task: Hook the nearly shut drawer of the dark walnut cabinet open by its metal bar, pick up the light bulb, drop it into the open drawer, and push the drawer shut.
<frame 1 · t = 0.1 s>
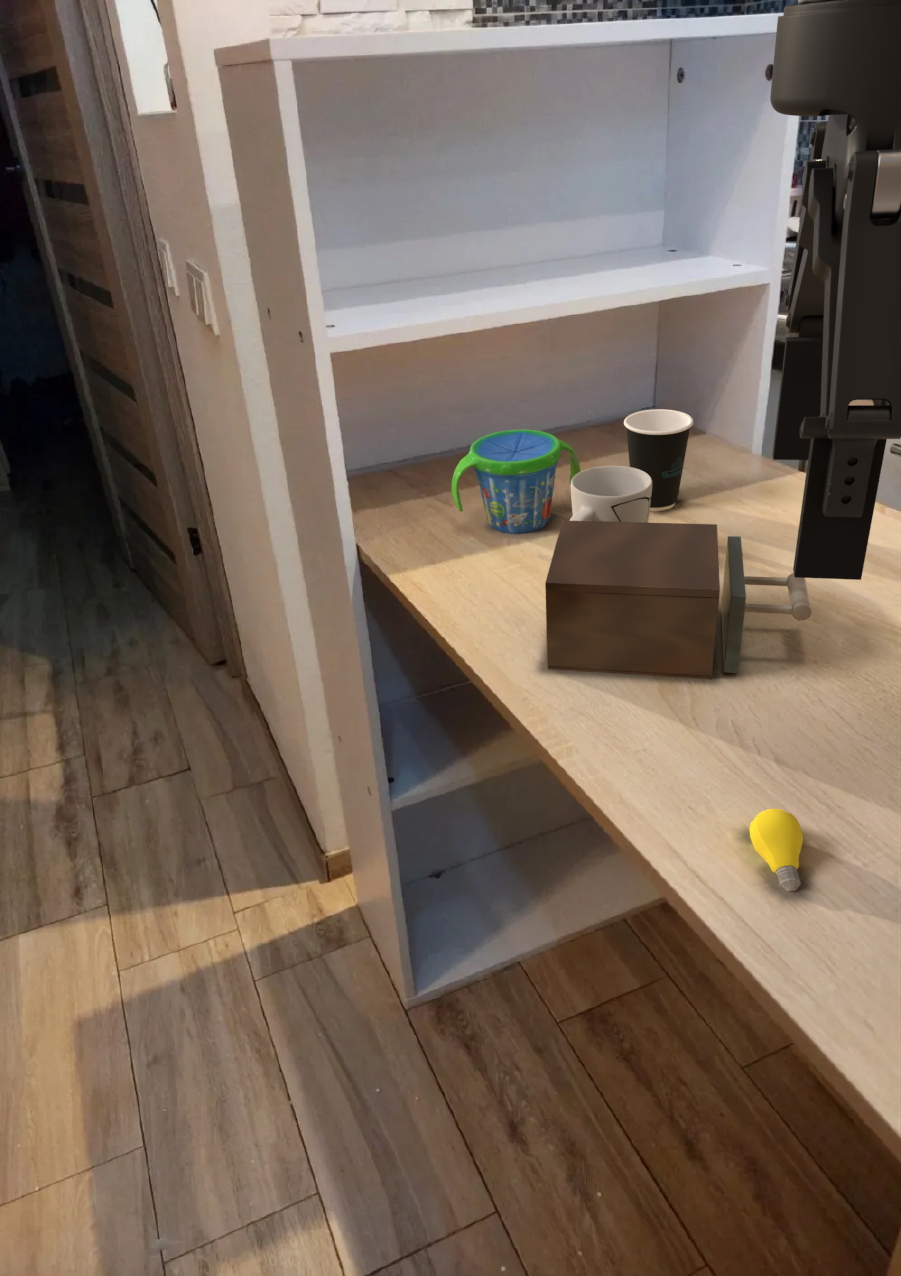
hand: (810, 509, 46), 28 cm above the table, tool pointing down, fingers open, 13 cm apart
dixie cup: (654, 508, 114), on the table
mug: (601, 572, 101), on the table
snack cup: (518, 525, 113), on the table
cabinet: (631, 641, 89), on the table
light bulb: (777, 866, 64), on the table
drawer: (695, 600, 85), point 5 cm above the table, slide at 1.0 cm
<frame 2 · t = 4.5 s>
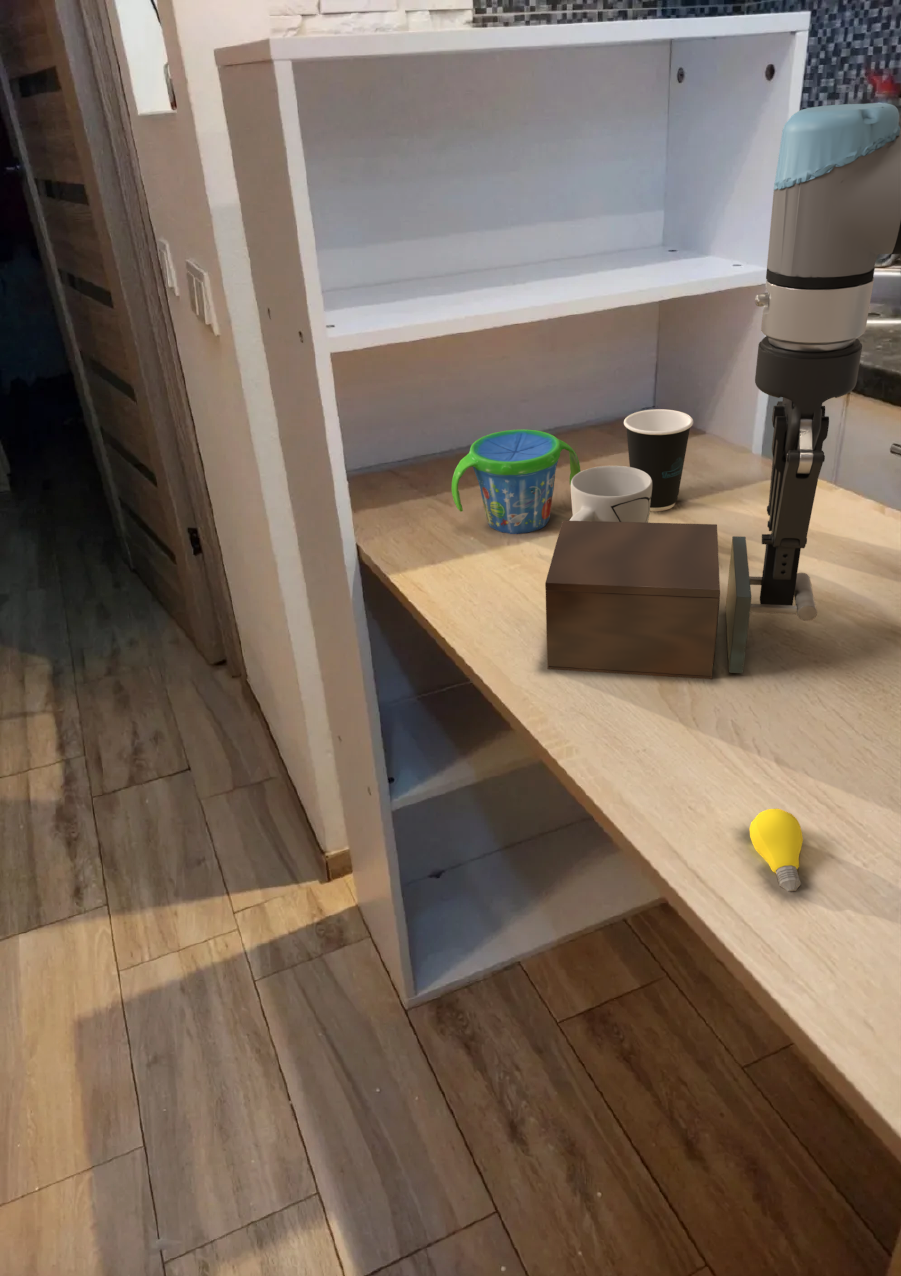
hand: (775, 603, 83), 5 cm above the table, tool pointing down, fingers closed
drawer: (700, 601, 85), point 5 cm above the table, slide at 1.4 cm
everything else where it was.
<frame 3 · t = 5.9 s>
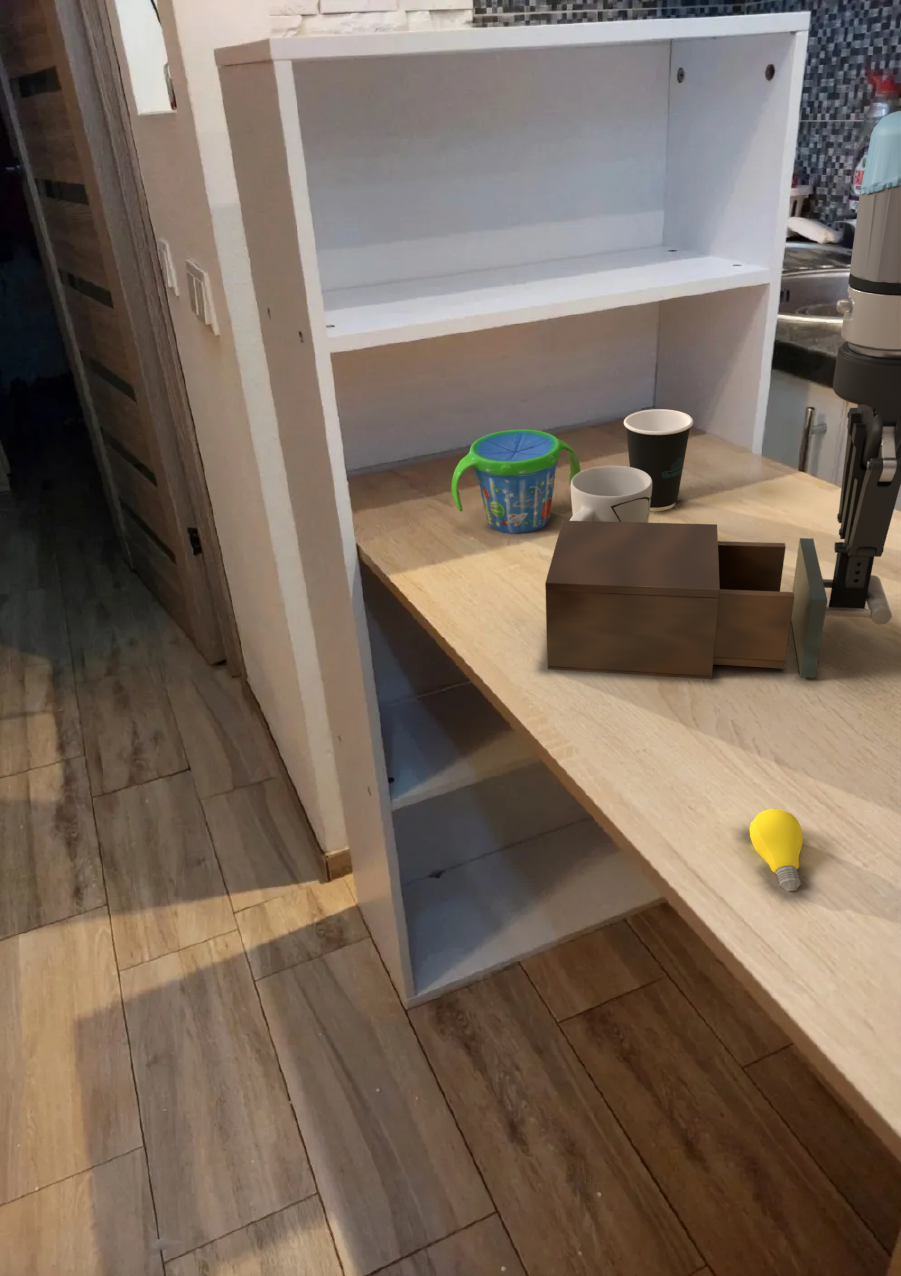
hand: (845, 611, 82), 4 cm above the table, tool pointing down, fingers closed
drawer: (768, 604, 84), point 5 cm above the table, slide at 7.4 cm
everything else where it was.
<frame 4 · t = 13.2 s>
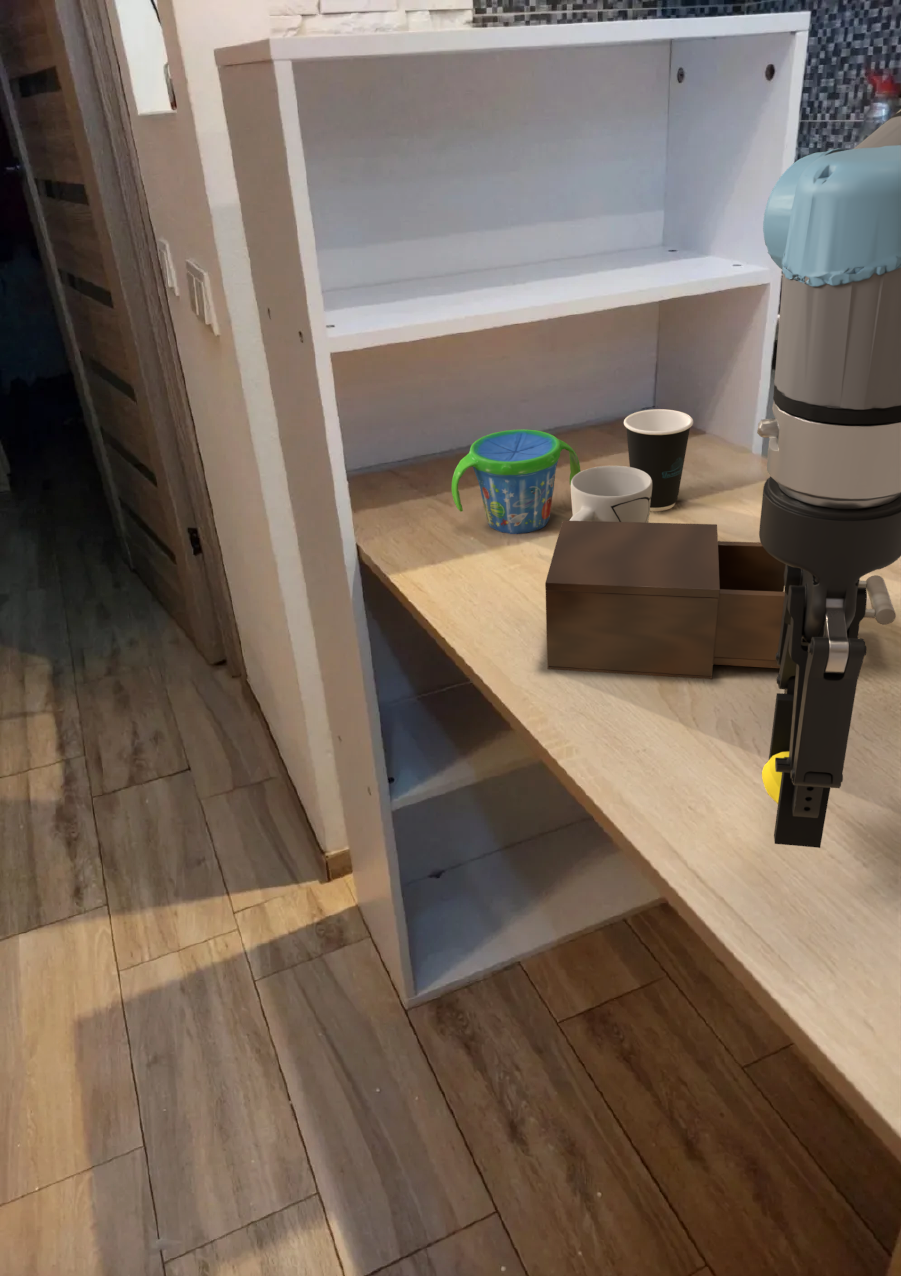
hand: (792, 805, 61), 5 cm above the table, tool pointing down, fingers closed on light bulb, 6 cm apart
light bulb: (792, 811, 61), point 5 cm above the table, touching gripper
drawer: (772, 604, 84), point 5 cm above the table, slide at 7.7 cm
everything else where it was.
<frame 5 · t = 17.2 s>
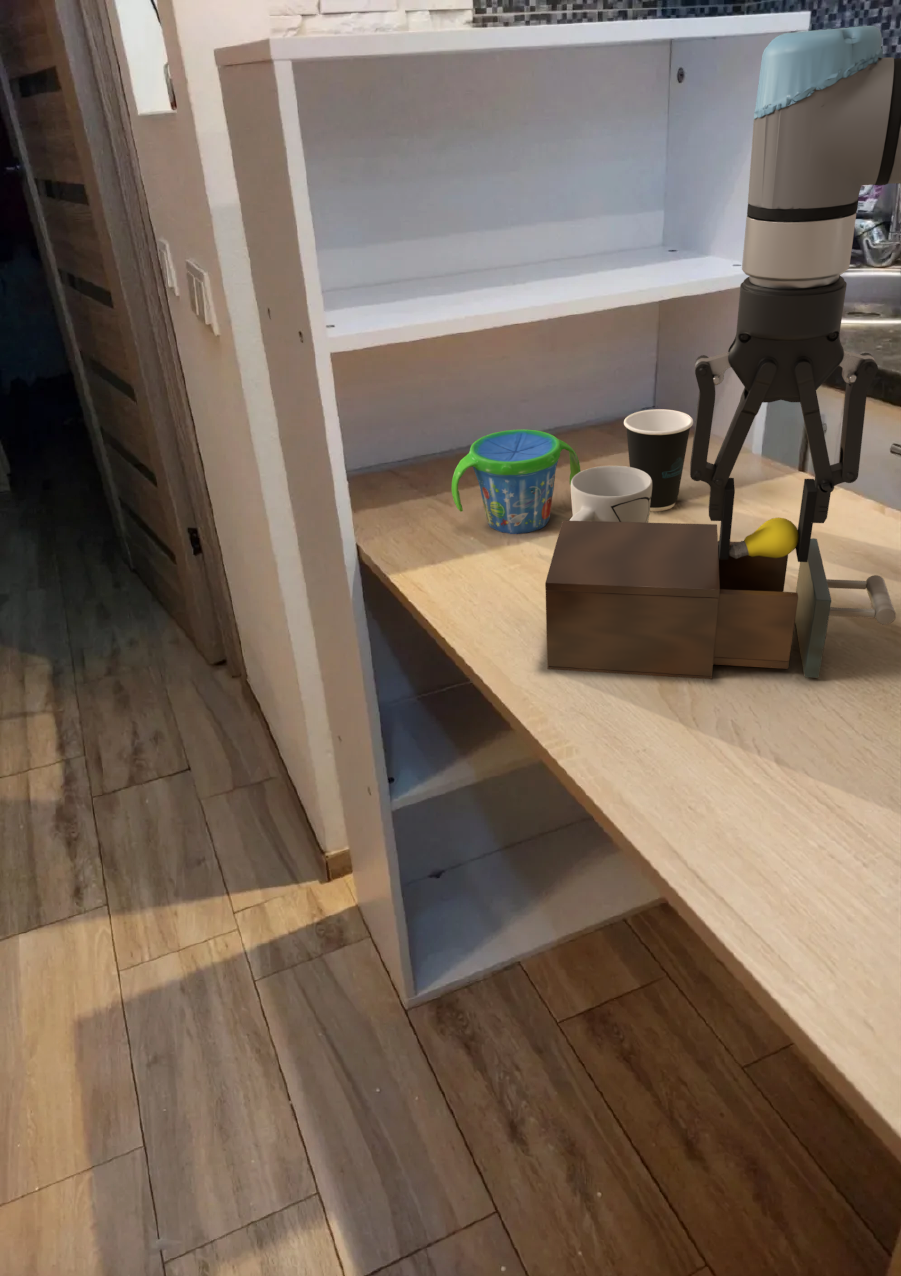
hand: (762, 553, 81), 10 cm above the table, tool pointing down, fingers closed on light bulb, 6 cm apart
light bulb: (761, 558, 81), point 9 cm above the table, touching gripper
everything else where it was.
when the fingers open (10 cm above the table, at t = 20.9 s): light bulb drops 7 cm, resting on drawer.
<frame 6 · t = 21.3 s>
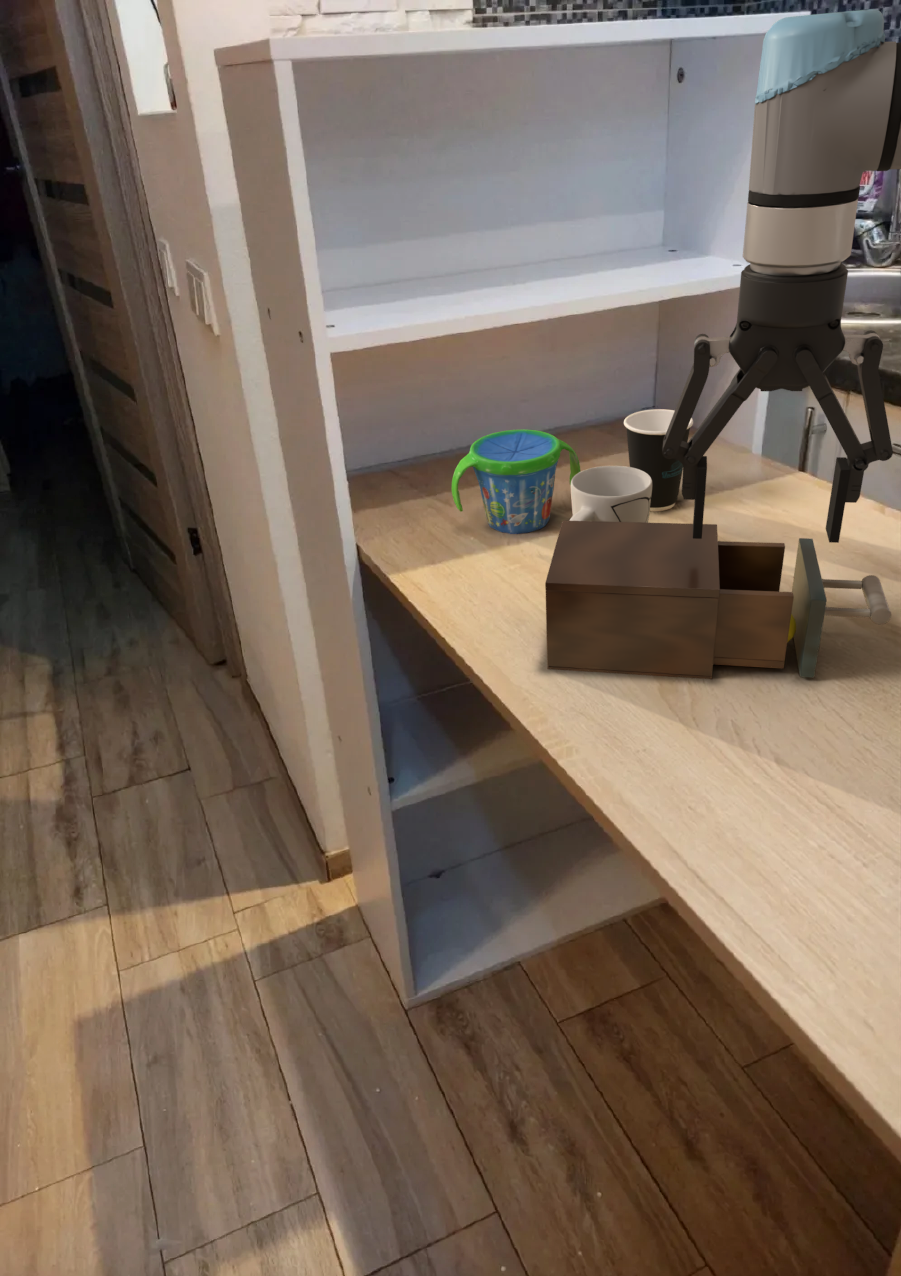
hand: (763, 533, 80), 12 cm above the table, tool pointing down, fingers open, 10 cm apart
light bulb: (758, 622, 84), point 3 cm above the table, touching drawer
drawer: (768, 604, 84), point 5 cm above the table, slide at 7.4 cm, touching light bulb
everything else where it was.
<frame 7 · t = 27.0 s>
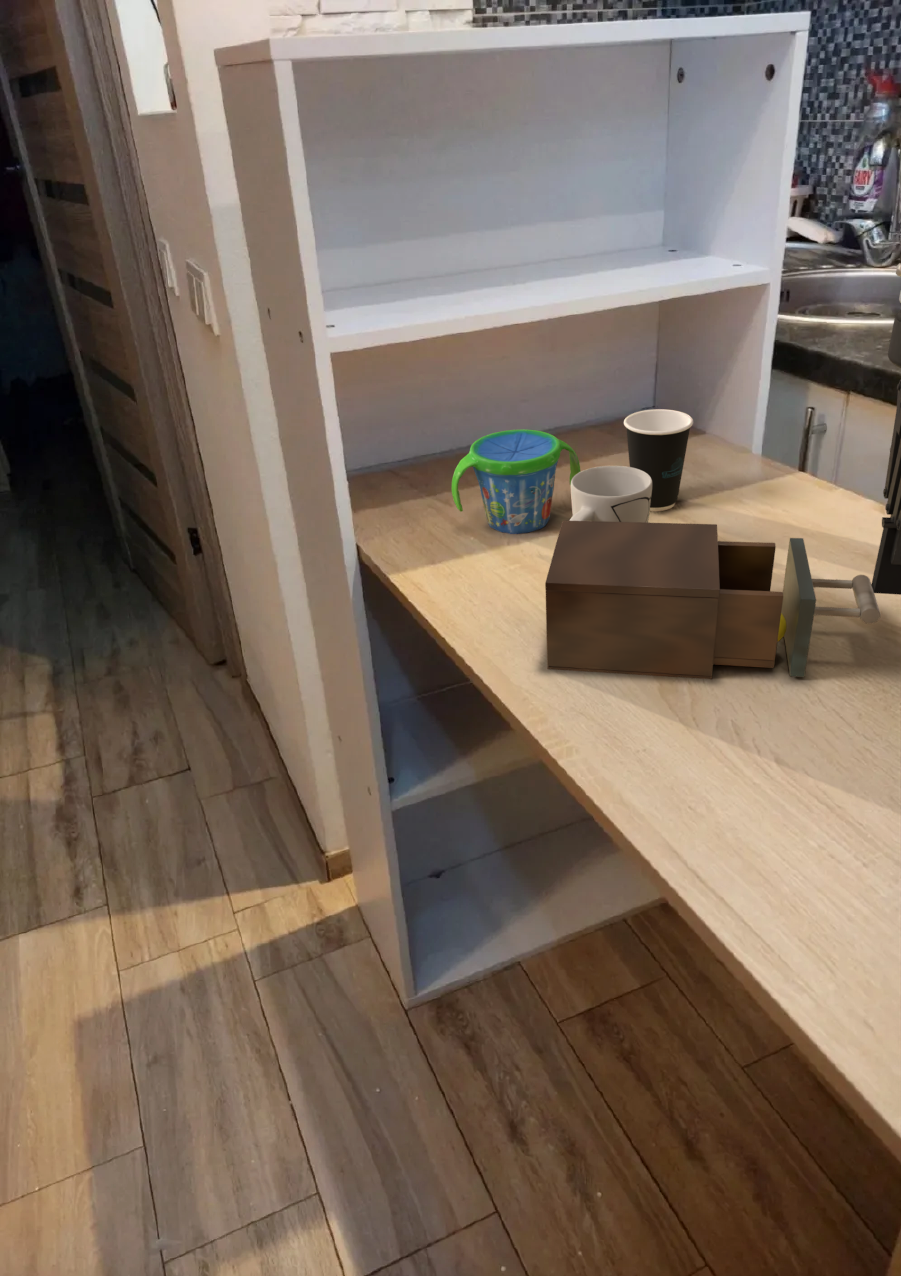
hand: (889, 589, 81), 7 cm above the table, tool pointing down, fingers closed
drawer: (758, 603, 84), point 5 cm above the table, slide at 6.5 cm, touching gripper, light bulb
everything else where it was.
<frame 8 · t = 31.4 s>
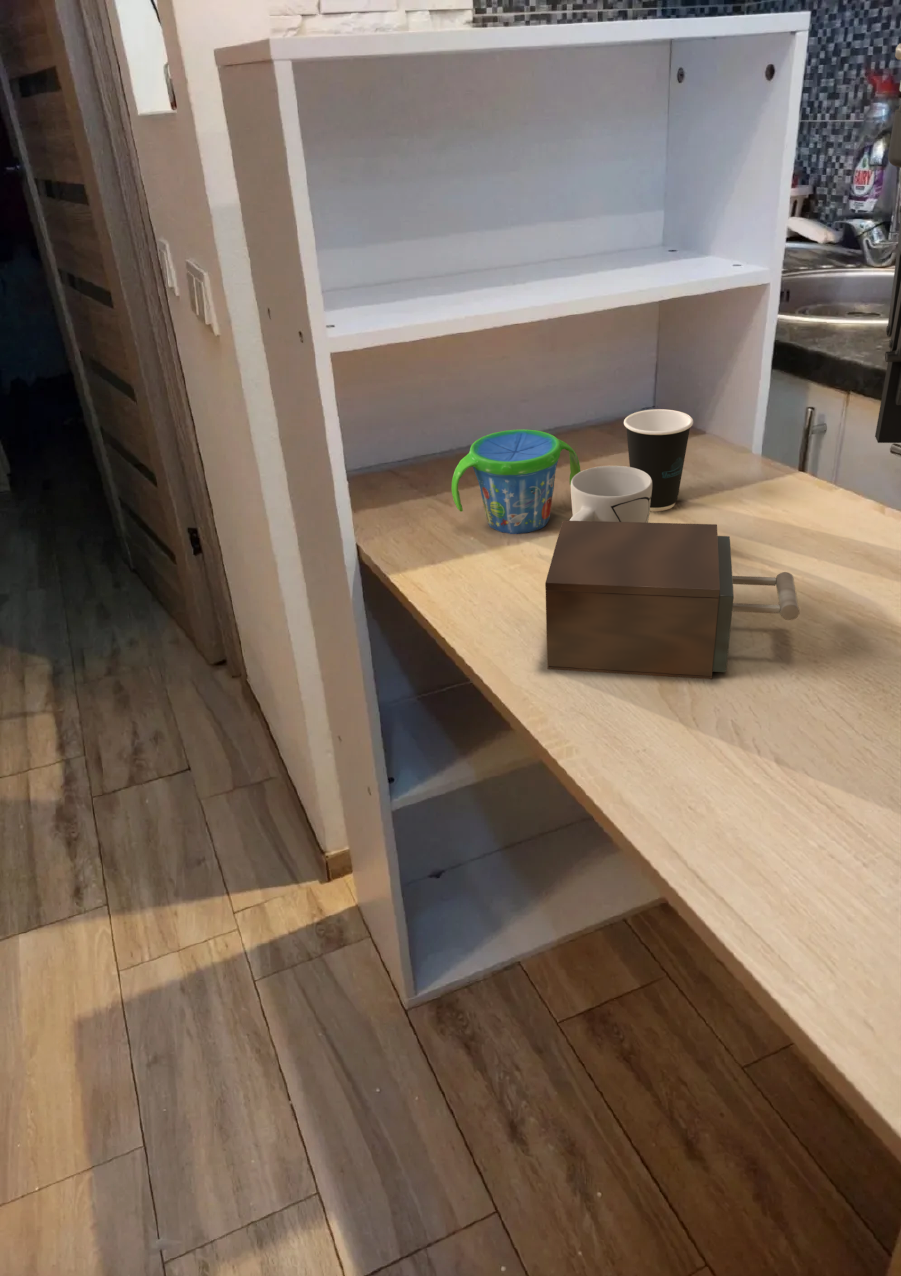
hand: (894, 439, 74), 20 cm above the table, tool pointing down, fingers closed
light bulb: (675, 618, 86), point 3 cm above the table, touching drawer
drawer: (684, 600, 85), point 5 cm above the table, slide at 0.0 cm, touching light bulb
everything else where it was.
at the end: drawer pulled out 7.7 cm at the most during the clip, back to where it started at the end; light bulb inside the target area in the cabinet (4.0 cm from its centre), point 3.2 cm above the cabinet's base; drawer slide at 0.0 cm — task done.
